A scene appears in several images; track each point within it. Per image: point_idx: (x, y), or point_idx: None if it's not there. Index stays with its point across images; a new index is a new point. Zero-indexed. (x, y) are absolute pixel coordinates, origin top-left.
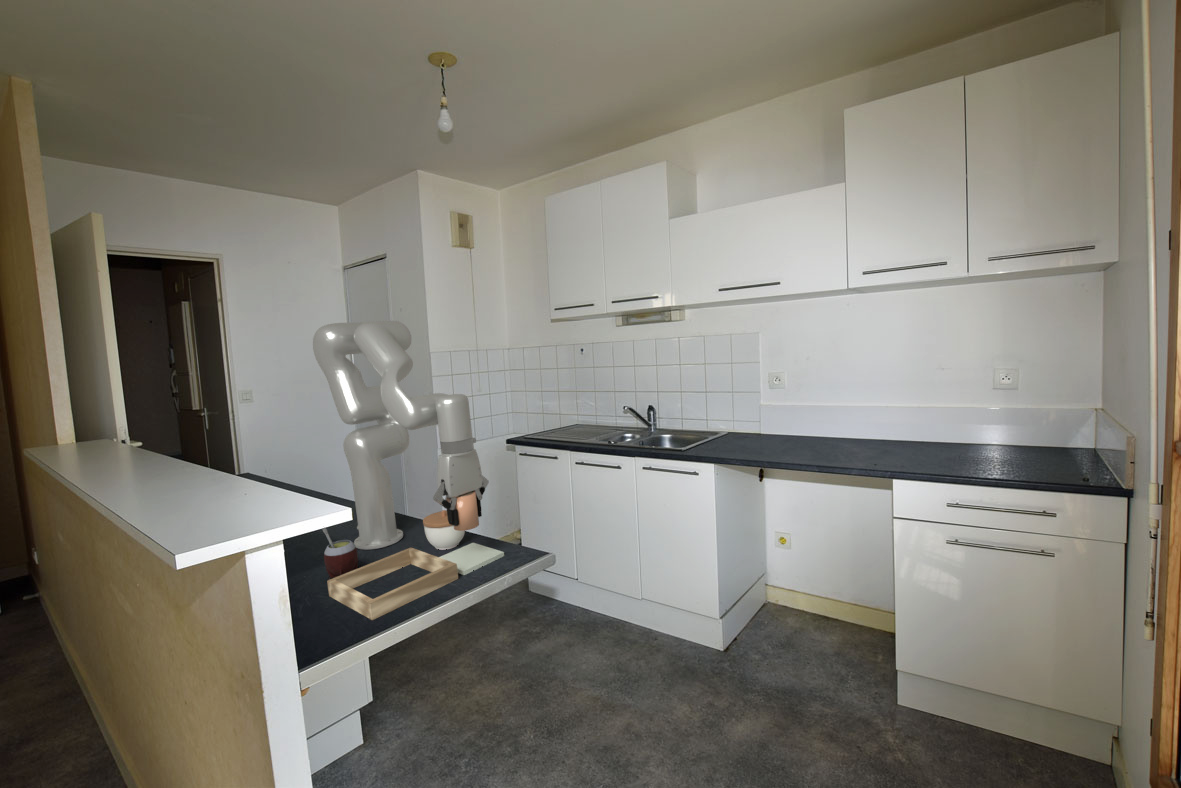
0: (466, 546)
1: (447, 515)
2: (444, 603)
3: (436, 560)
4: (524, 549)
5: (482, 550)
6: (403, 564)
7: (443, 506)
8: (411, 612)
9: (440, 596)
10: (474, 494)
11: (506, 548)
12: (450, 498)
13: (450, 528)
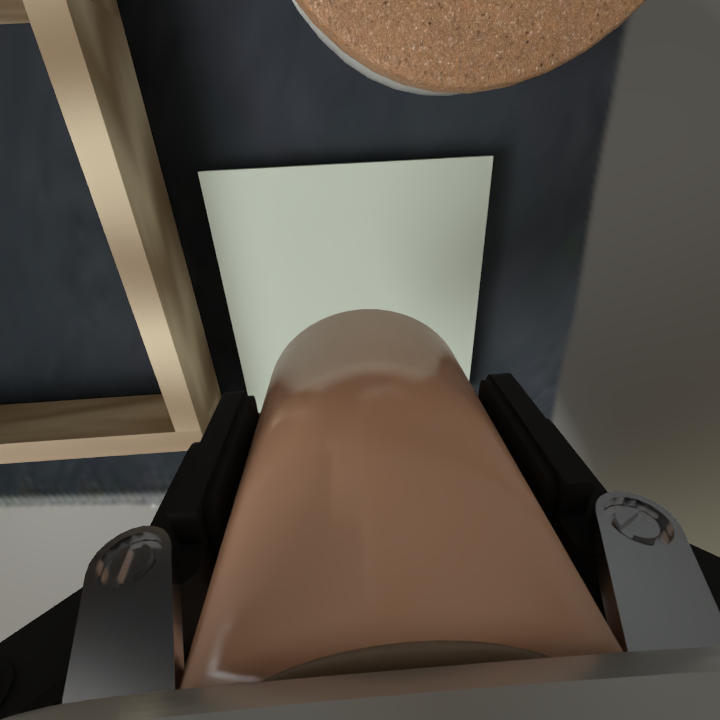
0: (431, 176)
1: (173, 483)
2: (116, 500)
3: (144, 343)
4: (548, 402)
5: (434, 307)
6: (20, 16)
7: (58, 616)
8: (5, 476)
9: (119, 461)
10: None
11: (530, 335)
12: (173, 689)
13: (391, 81)
